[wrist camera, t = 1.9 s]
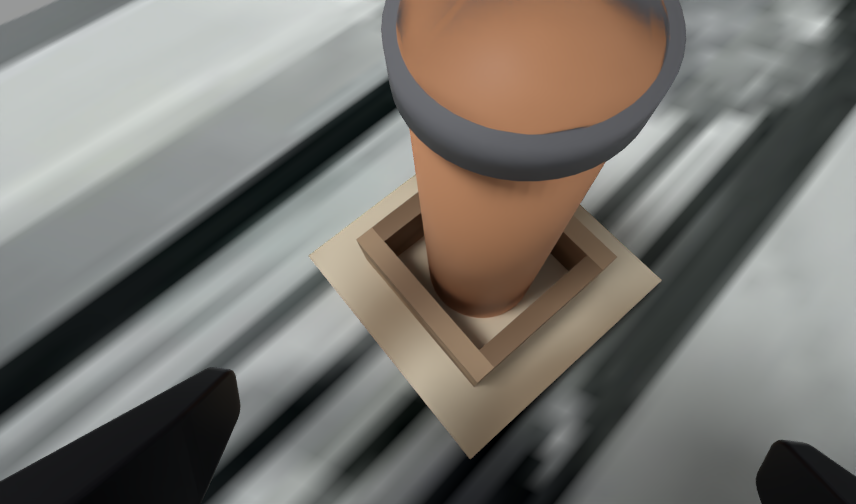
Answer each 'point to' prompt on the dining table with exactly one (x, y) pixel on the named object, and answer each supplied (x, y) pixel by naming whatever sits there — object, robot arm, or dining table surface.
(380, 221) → the square wooden holder
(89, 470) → the robot arm
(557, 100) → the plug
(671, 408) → the dining table surface
